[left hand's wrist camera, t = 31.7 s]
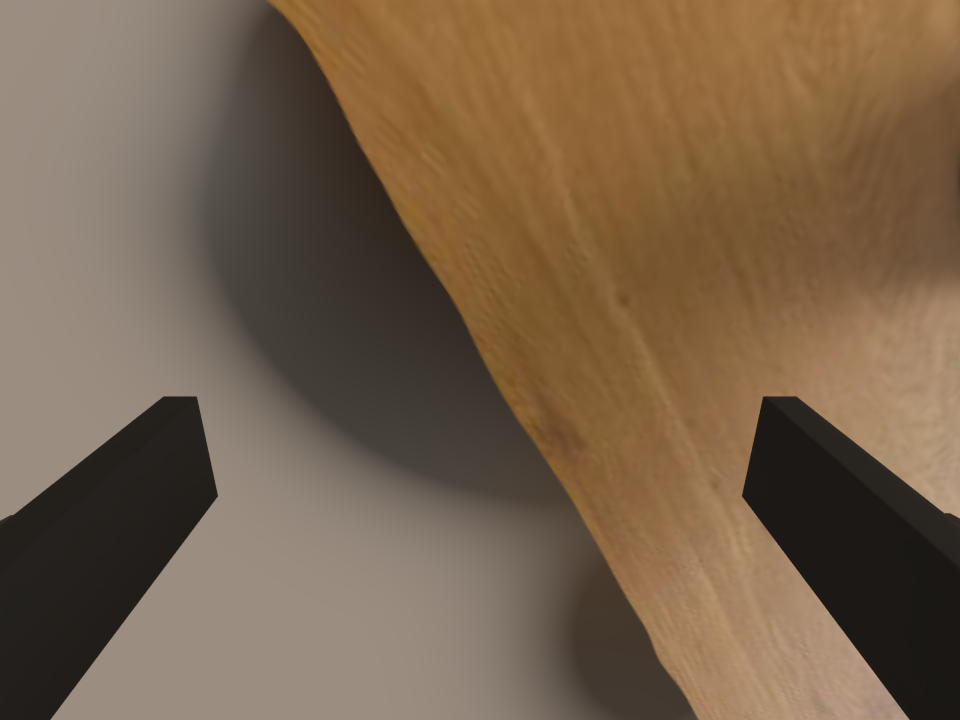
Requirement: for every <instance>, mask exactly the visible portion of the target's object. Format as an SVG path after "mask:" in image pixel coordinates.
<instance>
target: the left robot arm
mask: <svg viewBox="0 0 960 720" xmlns="http://www.w3.org/2000/svg"><path fill="white" fill-rule="evenodd" d="M217 497H218V494H217V489H216V485H215V480H214V475H213V471H212V466H211V461H210V457H209V452H208V447H207V442H206V438H205V433H204V428H203V424H202V419H201V414H200V410H199V405H198V400H197V397H162V398H161V399H160V400H159V401H157V402H156V403H155V404H154V405H152V406H151V407H150V408H149V409H147V410H146V411H145V412H143V413H142V414H141V415H140V416H138V417H137V418H136V419H135V420H133V421H132V422H131V423H130V424H128V425H127V426H126V427H125V428H123V429H122V430H121V431H119V432H118V433H117V434H116V435H114V436H113V437H112V438H111V439H109V440H108V441H107V442H106V443H104V444H103V445H102V446H100V447H99V448H98V449H97V450H95V451H94V452H93V453H92V454H90V455H89V456H88V457H87V458H85V459H84V460H83V461H81V462H80V463H79V464H78V465H76V466H75V467H74V468H73V469H71V470H70V471H69V472H67V473H66V474H65V475H64V476H62V477H61V478H60V479H59V480H57V481H56V482H55V483H54V484H52V485H51V486H50V487H49V488H47V489H46V490H45V491H43V492H42V493H41V494H40V495H38V496H37V497H36V498H35V499H33V500H32V501H31V502H29V503H28V504H27V505H26V506H24V507H23V508H22V509H21V510H19V511H18V512H17V513H16V514H14V515H10V516H8V517H6V518H5V519H3V520H1V521H0V720H50V719H51V718H52V717H53V715H54V714H55V713H56V711H57V710H58V709H59V707H60V706H61V705H62V703H63V702H64V701H65V699H66V698H67V697H68V695H69V694H70V693H71V691H72V690H73V689H74V687H75V686H76V685H77V683H78V682H79V681H80V679H81V678H82V677H83V675H84V674H85V673H86V671H87V670H88V669H89V667H90V666H91V665H92V663H93V662H94V661H95V659H96V658H97V657H98V655H99V654H100V653H101V651H102V650H103V649H104V647H105V646H106V645H107V643H108V642H109V641H110V639H111V638H112V637H113V635H114V634H115V633H116V631H117V630H118V629H119V627H120V626H121V625H122V623H123V622H124V621H125V619H126V618H127V617H128V615H129V614H130V613H131V611H132V610H133V609H134V607H135V606H136V605H137V603H138V602H139V601H140V599H141V598H142V597H143V595H144V594H145V593H146V591H147V590H148V589H149V587H150V586H151V585H152V583H153V582H154V581H155V579H156V578H157V577H158V575H159V574H160V573H161V571H162V570H163V569H164V567H165V566H166V565H167V563H168V562H169V561H170V559H171V558H172V557H173V555H174V554H175V553H176V551H177V550H178V549H179V547H180V546H181V545H182V543H183V542H184V541H185V539H186V538H187V537H188V535H189V534H190V533H191V531H192V530H193V529H194V527H195V526H196V525H197V523H198V522H199V521H200V519H201V518H202V517H203V515H204V514H205V513H206V511H207V510H208V509H209V507H210V506H211V505H212V503H213V502H214V501H215V499H216V498H217ZM742 497H743V498H744V499H745V501H746V502H747V503H748V505H749V506H750V507H751V509H752V510H753V511H754V513H755V514H756V515H757V517H758V518H759V519H760V521H761V522H762V523H763V525H764V526H765V527H766V529H767V530H768V531H769V533H770V534H771V535H772V537H773V538H774V539H775V541H776V542H777V543H778V545H779V546H780V547H781V549H782V550H783V551H784V553H785V554H786V555H787V557H788V558H789V559H790V561H791V562H792V563H793V565H794V566H795V567H796V569H797V570H798V571H799V573H800V574H801V575H802V577H803V578H804V579H805V581H806V582H807V583H808V585H809V586H810V587H811V589H812V590H813V591H814V593H815V594H816V595H817V597H818V598H819V599H820V601H821V602H822V603H823V605H824V606H825V607H826V609H827V610H828V611H829V613H830V614H831V615H832V617H833V618H834V619H835V621H836V622H837V623H838V625H839V626H840V627H841V629H842V630H843V631H844V633H845V634H846V635H847V637H848V638H849V639H850V641H851V642H852V643H853V645H854V646H855V647H856V649H857V650H858V651H859V653H860V654H861V655H862V657H863V658H864V659H865V661H866V662H867V663H868V665H869V666H870V667H871V669H872V670H873V671H874V673H875V674H876V675H877V677H878V678H879V679H880V681H881V682H882V683H883V685H884V686H885V687H886V689H887V690H888V691H889V693H890V694H891V695H892V697H893V698H894V699H895V701H896V702H897V703H898V705H899V706H900V707H901V709H902V710H903V711H904V713H905V714H906V715H907V717H908V718H909V719H910V720H960V518H958V517H956V516H954V515H952V514H950V513H943V512H942V511H941V510H939V509H938V508H937V507H936V506H934V505H933V504H932V503H931V502H929V501H928V500H927V499H925V498H924V497H923V496H922V495H920V494H919V493H918V492H917V491H915V490H914V489H913V488H912V487H910V486H909V485H908V484H906V483H905V482H904V481H903V480H901V479H900V478H899V477H898V476H896V475H895V474H894V473H893V472H891V471H890V470H889V469H887V468H886V467H885V466H884V465H882V464H881V463H880V462H879V461H877V460H876V459H875V458H874V457H872V456H871V455H870V454H868V453H867V452H866V451H865V450H863V449H862V448H861V447H860V446H858V445H857V444H856V443H855V442H853V441H852V440H851V439H849V438H848V437H847V436H846V435H844V434H843V433H842V432H841V431H839V430H838V429H837V428H836V427H834V426H833V425H832V424H830V423H829V422H828V421H827V420H825V419H824V418H823V417H822V416H820V415H819V414H818V413H817V412H815V411H814V410H813V409H811V408H810V407H809V406H808V405H806V404H805V403H804V402H803V401H801V400H800V399H799V398H798V397H763V400H762V405H761V409H760V414H759V419H758V424H757V428H756V433H755V438H754V442H753V447H752V452H751V456H750V461H749V466H748V470H747V475H746V480H745V485H744V489H743V494H742Z"/></svg>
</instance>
